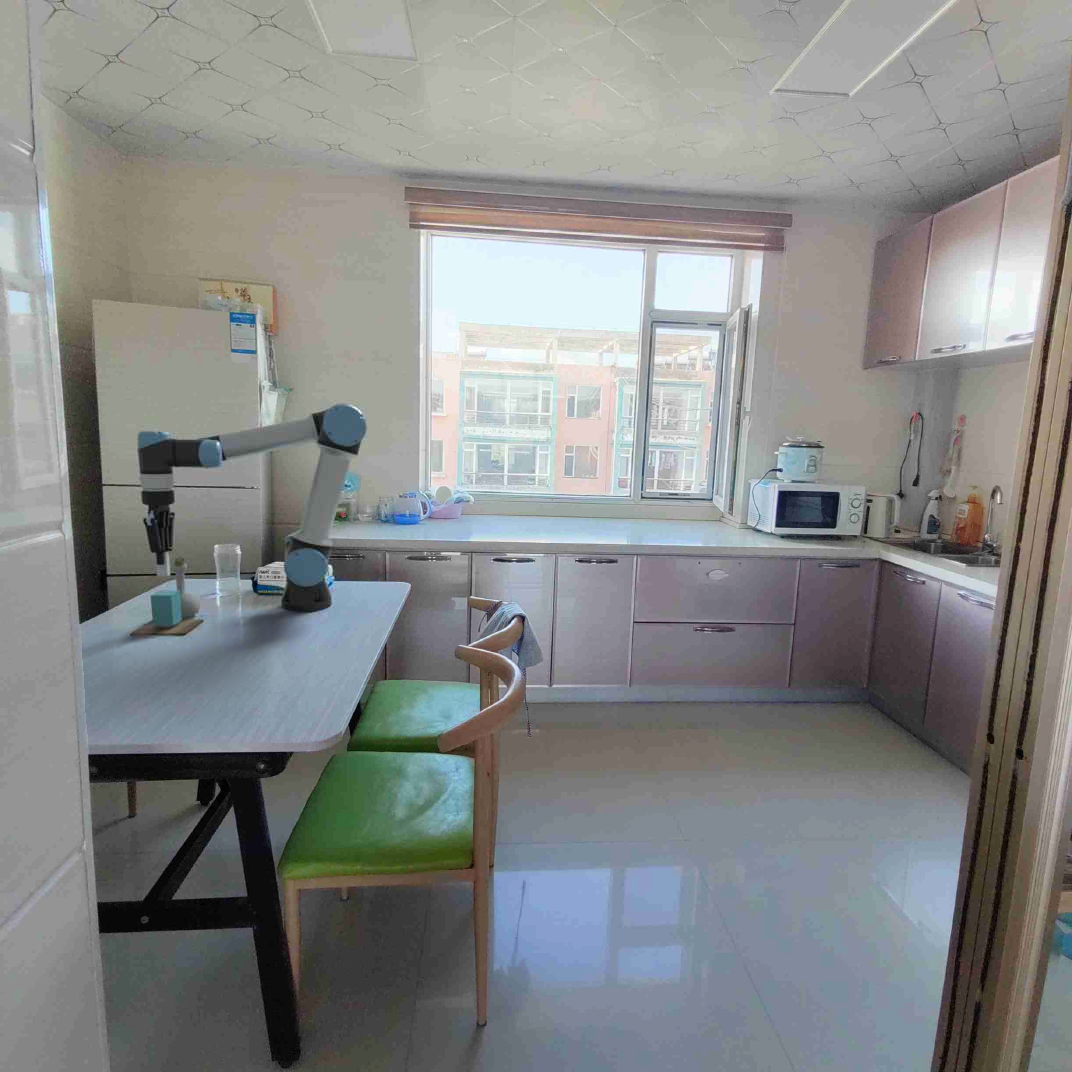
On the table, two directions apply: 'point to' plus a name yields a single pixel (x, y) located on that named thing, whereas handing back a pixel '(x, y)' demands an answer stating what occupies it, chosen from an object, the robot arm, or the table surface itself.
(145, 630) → the board
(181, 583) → the potion bottle
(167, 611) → the teal boxy block
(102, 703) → the table surface
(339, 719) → the table surface
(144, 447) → the robot arm
